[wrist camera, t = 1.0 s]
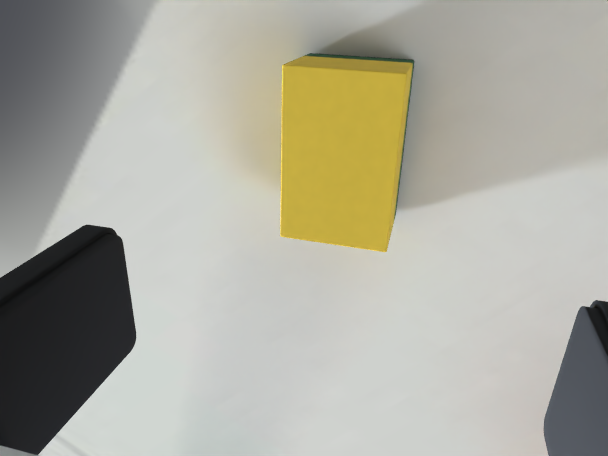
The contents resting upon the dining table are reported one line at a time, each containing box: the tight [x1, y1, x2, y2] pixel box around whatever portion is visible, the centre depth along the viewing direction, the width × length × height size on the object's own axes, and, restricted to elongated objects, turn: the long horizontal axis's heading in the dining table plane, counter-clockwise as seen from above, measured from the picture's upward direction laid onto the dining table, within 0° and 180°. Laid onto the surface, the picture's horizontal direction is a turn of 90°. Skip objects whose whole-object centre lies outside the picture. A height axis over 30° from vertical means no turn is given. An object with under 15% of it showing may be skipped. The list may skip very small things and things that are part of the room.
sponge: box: [280, 53, 414, 252], centre depth 21 cm, size 7×4×4 cm, turn 178°
